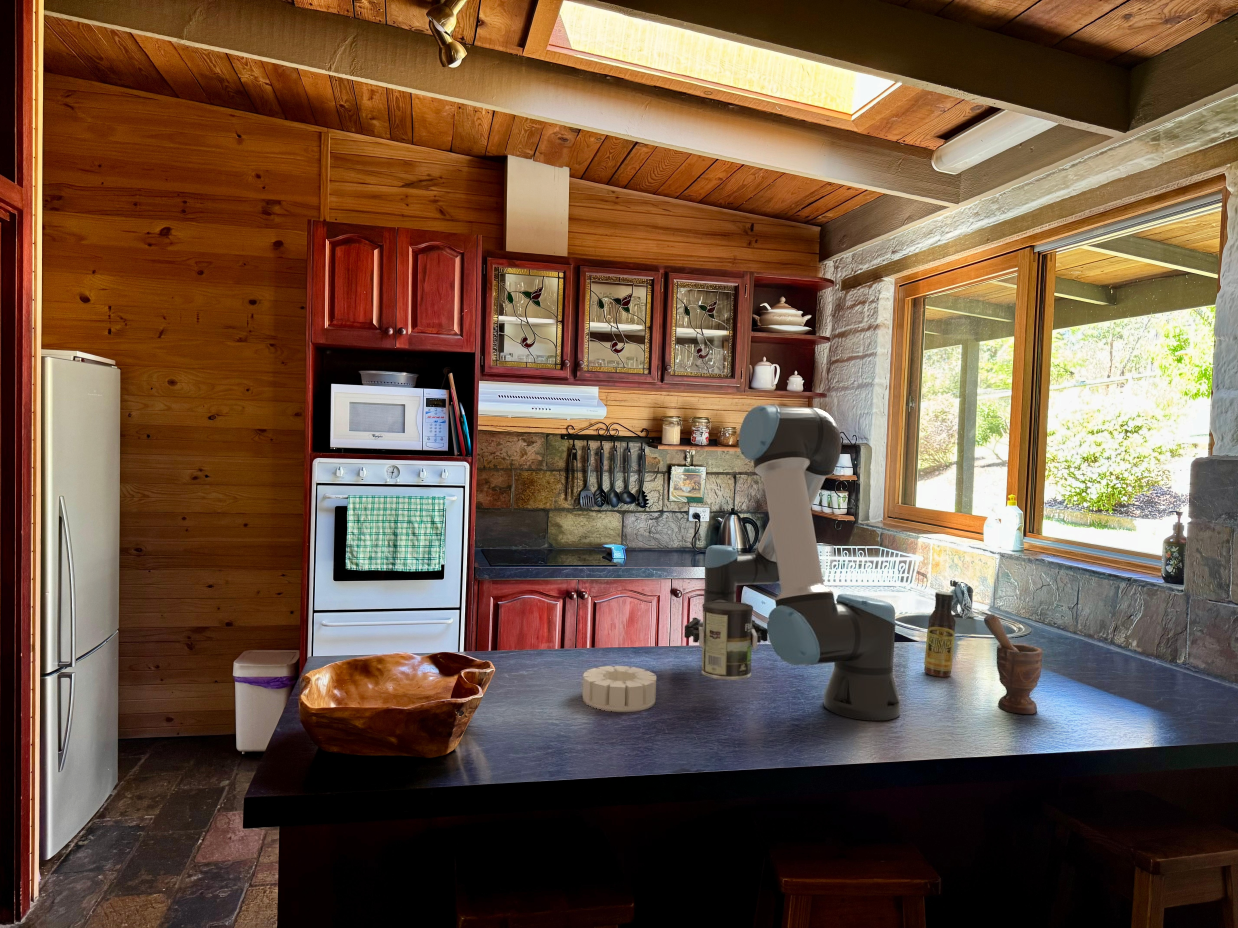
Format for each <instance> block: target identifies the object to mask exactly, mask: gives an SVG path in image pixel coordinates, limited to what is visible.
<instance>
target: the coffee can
mask: <svg viewBox="0 0 1238 928" xmlns="http://www.w3.org/2000/svg"><path fill="white" fill-rule="evenodd" d="M753 610H754V606H753V605H752V604H750V603H745V602H740V601H739V602H738V601H736V602H731V601H713V602H706V603H704V602H703V604H702V622H703V632H704V644H703V647H701V648H702V649H701V650H702V651H701V670H700V671H701V674H702V675H704V676H705V677H707V678H711V679H716V680H724V681H738V680H744V679H745V680H746V679H748V678H750V677H751V676H752V645H751V643H752V620H753Z"/></svg>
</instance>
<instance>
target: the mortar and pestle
mask: <svg viewBox="0 0 1238 928" xmlns="http://www.w3.org/2000/svg"><path fill="white" fill-rule="evenodd" d="M983 622H984V624H985V626H986V628H987V629H988V630H989V633H991V634H992V635H993V637H994V638H995V639H996V641H997V642H998V643H999V644H998V645H997V646H996V669H997V673H998V675H999V682H1000V684H1001V685H1002V686H1003V687H1004V688H1005V692H1006V693H1005V694H1004V695H1003V696H1001V697H999V700H998V702H997V705H998V708H1000V709H1001V710H1003V711H1005V712H1009V713H1013V714H1020V715H1033V714H1036V713H1037V712H1038V707H1037V706H1038V705H1037V703H1036V702H1035V701H1034V700H1033V699H1032V698H1031V696H1030V694H1031V692H1033V690H1034V689H1036V687H1037V686H1038V681H1039V680H1040V678H1041V675H1042V674H1041V673H1042V662H1043V649H1042V648H1039V647H1036V646H1033V645H1030V644H1024V643H1012V642H1011V640H1010V639H1009V636H1007V632H1006V630H1005V628H1004V626H1003V624H1002V622H1001V621H1000V619H999V617H997V615H995V614H992V613H991V614H987V615H986V616H985V617H983Z"/></svg>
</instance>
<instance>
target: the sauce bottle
mask: <svg viewBox="0 0 1238 928" xmlns="http://www.w3.org/2000/svg"><path fill="white" fill-rule="evenodd" d="M934 593H935V594H934V597H935V598H934V599H935V601H934V603H935V605H934V610H933V611H932V613H931V614H930V616H929V617H928V624H927V629H926V631H927V632H926V640H925V642H926V643H925V651H924V652H925V653H924V664H923V666H924V668H923V671H924V672H925V673H926V675H930V676H932V677H941V678H948V677H950V676H951V674H952V670H953V669H952V668H953V661H954V660H953V659H954V658H953V657H954V650H955V640H956V639H955V637H956V633H955V632H956V619H955V618H954V617H955V616H954V615H953V613H952V607H953V604H952V603H953V600H954V593H953V592H952V593H951V592H948V591H936V592H934Z"/></svg>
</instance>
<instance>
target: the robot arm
mask: <svg viewBox="0 0 1238 928" xmlns="http://www.w3.org/2000/svg"><path fill="white" fill-rule="evenodd" d="M739 428H740V429H739V433H738V447H739V451H740V453H741V455H742V456H743V457H744V458H745V459H747V460H749V461H752V462H753V468H754V469H753V470H754V473H755V474H757V475H758V476H760V477H761V478H762V479H763V486H764V491H765V498H766V504H767V510H768V517H769V521H768V523H767V526H766V528H765V530H764V532H763V535H762V537H761V539H760V542H759V543H758V546H757V547H756V550H755V552H751V553H750V552H749V553H745V552H744V553H742V552H741V553H738V549H737V547H735V546H732V545H723V544H722V545H720V544H717V545H710V546H708V547H707V548H706V551H705V557H704V591H703V604H704V603H706V602H713V601H731V602H737V601H736V600H737V599H736V597H737V596H736V594H737V586H743V585H775V584H779V585H780V592H779V593H778V594H777V596H776V597H775V599H774V603H775V607H774V608H773V609H771V611H770V612H769V614H768V620H767V622H766V627H765V626H763V625H762V624H759V623H757V622H756V621H755V620H753V619H752V643H751V648H752V650H758V644H759V643H762V642H768V640H769V643H770V645H771V647H772V649H773V650H774V652H775V654H776V655H777V656H778V657H779V658H780V659H781V660H782V661H783V662H784V663H786V664H788V665H791V666H805V667H808V666H814V665H823V664H832V663H833V670H832V673H831V676H830V678H829V680H828V683H827V686H826V687H825V691H824V694H823V706H824V707H825V708H826V709H827V710H828V711H830V712H832V713H834V714H837V715H839V716H842V717H845V718H850V719H856V720H862V721H873V722H874V721H876V722H877V721H878V722H879V721H889V720H893V719H896V718H898V717H899V716H900V715H901V700H900V696H899V693H898V690H897V686H896V682H895V678H894V654H895V635H896V626H897V622H896V610H895V607H894V605H893V604H892V603H890V602H888V601H885V600H882V599H878V598H873V597H868V596H863V595H858V594H850V593H848V594H847V593H839V594H838V595H837V597H836V599H835V596H834V592H833V590H831V589H829V588H828V587H827V586H826V585H825V583H824V577H823V573H822V571H823V570H822V567H821V561H820V556H819V549H818V544H817V538H816V532H815V525H814V519H813V515H812V507H813V505H814V502H815V500H816V499H817V496H818V494H819V492H820V490H821V488H822V486H823V484H824V481H825V479H826V478H828V477H830V476H832V475H833V474H834V472H835V469H836V467H837V466H838V463H839V460H840V456H841V451H842V438H841V437H842V436H841V432H840V429H839V427H838V425H837V422H836V421H835V420H834V418H833V417H832V416H831V414H829V413H828V412H826V411H824V410H822V409H820V408H817V407H810V406H808V407H807V406H806V407H802V406H790V405H789V406H786V405H776V404H769V405H766V404H765V405H764V404H763V405H757V406H754V407H752V408H751V409H750V410H749V411H748V412H747V413H746V415H745V417H743V421H742V423H741V425H740V427H739ZM683 636H684V637H683V638H685V639H690V638H692V642H693V643H694V644H695V643H697V644H698V645H699V648H702V647H703V644H704V632H703V621H701V619H700V618H697V617H692V620H691V621H689V622H688V623H687V624H685V625H684V635H683Z"/></svg>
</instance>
